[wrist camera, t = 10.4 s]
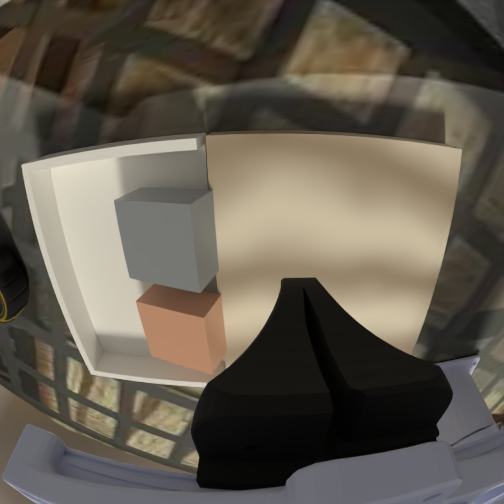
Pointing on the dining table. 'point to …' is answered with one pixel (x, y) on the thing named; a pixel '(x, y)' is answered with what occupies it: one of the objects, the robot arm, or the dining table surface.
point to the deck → (330, 225)
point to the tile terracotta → (184, 326)
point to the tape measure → (11, 286)
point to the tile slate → (169, 236)
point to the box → (109, 246)
